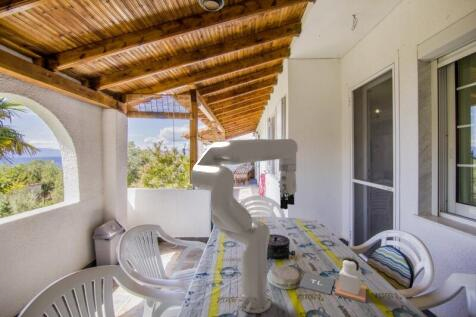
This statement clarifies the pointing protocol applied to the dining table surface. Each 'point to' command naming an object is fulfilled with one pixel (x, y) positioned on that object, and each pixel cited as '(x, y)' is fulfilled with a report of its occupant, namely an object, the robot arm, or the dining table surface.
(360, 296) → the terracotta pad
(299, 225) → the dining table surface
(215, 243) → the dining table surface
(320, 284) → the tile
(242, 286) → the robot arm
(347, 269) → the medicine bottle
